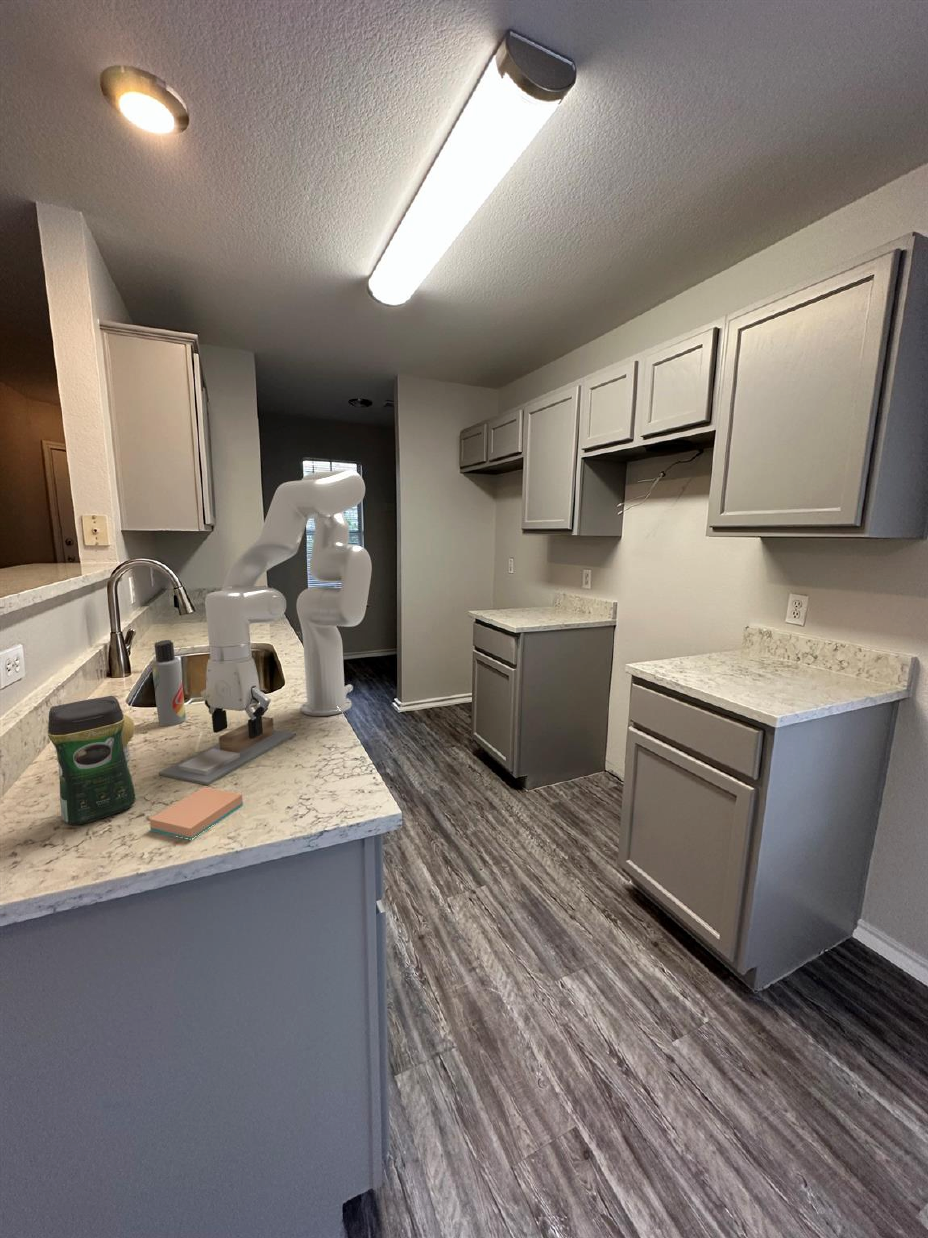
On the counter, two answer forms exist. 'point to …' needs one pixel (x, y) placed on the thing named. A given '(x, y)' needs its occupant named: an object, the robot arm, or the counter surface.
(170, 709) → the lotion bottle
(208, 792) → the kitchen sponge
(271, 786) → the counter surface
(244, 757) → the mat
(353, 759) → the counter surface
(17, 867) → the counter surface
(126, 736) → the light bulb
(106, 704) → the coffee jar
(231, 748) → the turner
